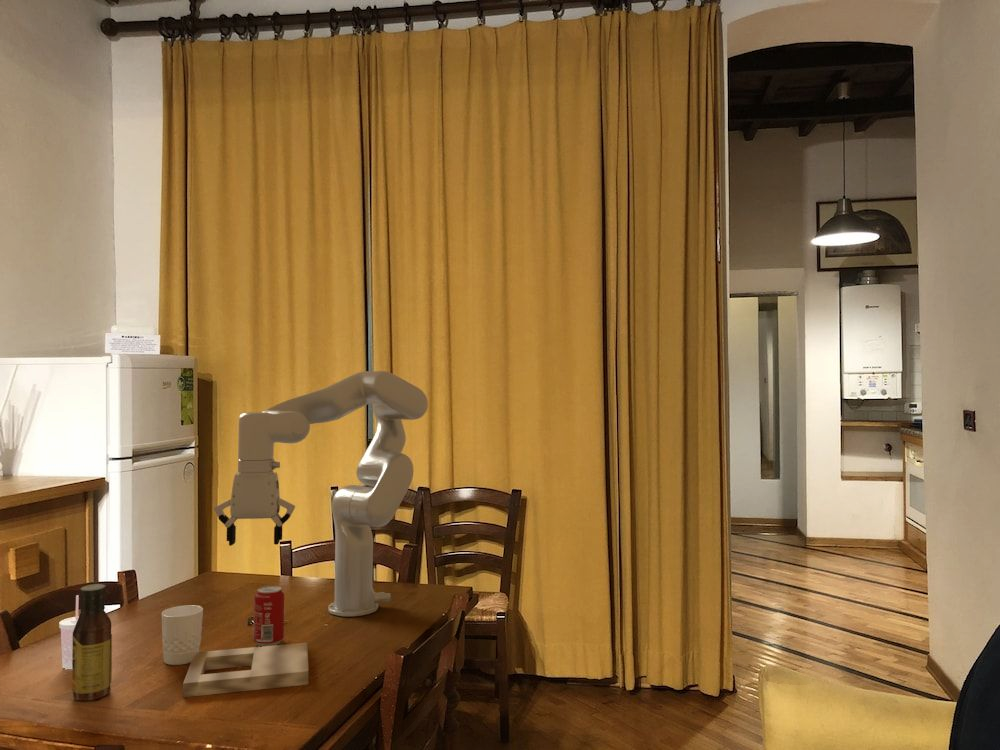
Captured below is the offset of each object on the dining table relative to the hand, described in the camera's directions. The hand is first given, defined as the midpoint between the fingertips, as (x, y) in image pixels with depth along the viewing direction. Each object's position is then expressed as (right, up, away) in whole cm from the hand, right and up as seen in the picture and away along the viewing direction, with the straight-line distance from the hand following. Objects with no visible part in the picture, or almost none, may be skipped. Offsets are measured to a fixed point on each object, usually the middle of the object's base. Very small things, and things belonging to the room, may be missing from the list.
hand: (254, 543), depth 158 cm
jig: (+6, -21, -19) cm, 29 cm away
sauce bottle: (-19, -21, -30) cm, 41 cm away
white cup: (-11, -21, -12) cm, 27 cm away
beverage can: (+4, -22, -2) cm, 22 cm away
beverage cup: (-31, -21, -15) cm, 40 cm away
